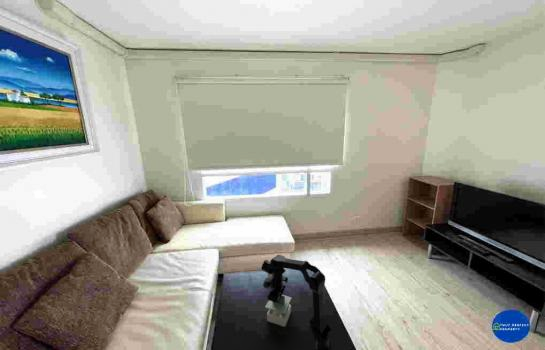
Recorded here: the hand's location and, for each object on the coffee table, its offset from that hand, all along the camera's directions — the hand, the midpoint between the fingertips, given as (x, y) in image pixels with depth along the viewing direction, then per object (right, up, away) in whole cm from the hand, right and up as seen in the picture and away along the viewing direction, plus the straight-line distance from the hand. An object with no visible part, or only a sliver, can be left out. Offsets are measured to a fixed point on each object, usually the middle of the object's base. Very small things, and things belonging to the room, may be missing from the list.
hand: (278, 300), depth 125 cm
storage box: (+1, -11, +2) cm, 11 cm away
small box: (-2, -6, +30) cm, 30 cm away
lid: (0, -3, +1) cm, 3 cm away
